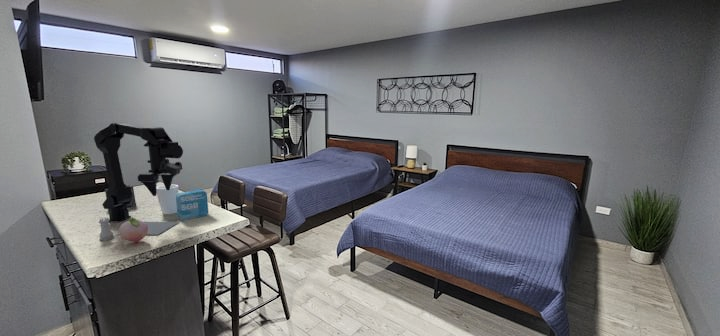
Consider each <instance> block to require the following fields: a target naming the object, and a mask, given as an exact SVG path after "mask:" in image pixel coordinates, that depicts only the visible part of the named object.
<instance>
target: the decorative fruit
mask: <svg viewBox="0 0 720 336" xmlns="http://www.w3.org/2000/svg"><path fill="white" fill-rule="evenodd" d="M145 222H146V221H142V220H140V219H137V218H135V217H133V216H131V217H130V218H127V220H126V221H124V222H122V224H121V225H120V226H119V229H118V234H119V235H118V236H120V238H121V239H122V240H124V241H126V242H131V243H138V242H140V241H142V240H143V239H144V238H145V237H146V236H147V235H146V234H147V232H148V226H147V224H146V223H145Z"/></svg>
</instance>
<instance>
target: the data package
mask: <svg viewBox="0 0 720 336" xmlns="http://www.w3.org/2000/svg"><path fill="white" fill-rule="evenodd" d="M176 204H177V212H176V214H177V217H178V218H179V219H180V220H182V221H186V220H191V219H196V218H200V217H206V216H207V215H208V214H209V205H208V204H209V201H208V193H207V192H206V191H205V190H203V189H195V190H189V191H184V192H183V191H182V192H178V194H177V195H176Z"/></svg>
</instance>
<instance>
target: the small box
mask: <svg viewBox="0 0 720 336" xmlns="http://www.w3.org/2000/svg"><path fill="white" fill-rule="evenodd" d="M126 186H127V187H129V186H130V187H131V192H132V194H133V195H132V198H131V202H130V204H127V208H131V207H135V206H137V202H136V195H135V190H134V186H132V185H126ZM107 190H108V188H104V191H105V192H104V193H105V197H106V199H107ZM106 199H105V200H106Z"/></svg>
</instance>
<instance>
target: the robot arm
mask: <svg viewBox="0 0 720 336" xmlns="http://www.w3.org/2000/svg"><path fill="white" fill-rule="evenodd" d="M125 135H129V136H130V135H131V136H134V137H139V138H141V140H143V141H146V143H144V144H143V147H147V148H148V155H149V159H148V160H147V163H148V164H150V169H149V170H148V172H143V173H140V174H138V175H137V182H140V184H141V183H142V184H143V185H144V186H145V187H146V189H148V191H149V193H150V194H151V195H152V196H153V197H156V196H157V193H156V187H157V184H158V183H159V181H160V180H159V177H160V178H161V180H162V182H163V185H165V188H166V190H170V186H171V184H172V183H173V179H174V177H176V176H177V175H180V173H181V171H182V170H183V164H182V162H180V161H176V162H175V163H174V162H170V159H181V157H183V154H184V149H183V148H182V146H181V145H180V144H179V142H178V141H173V140H172V138H171V137H170V136H169V135H168V133H167V132H166V130H165V128H164V127H161V126H160V127H159V126H158V127H157V126H156V127H153V126H152V127H145V126H139V125H135V124H134V125H133V124H129V123H125V122H112V123H110V124H109V125H108V126H107V127H105V128H103V129H101V130H99V131H98V132H97V133H95V135H94V136H93V141H94V143H95V145H96V148H97V149H98V150H99V151H100V152H101V153H102V154H103V155H102V156H103V159H104V164H105V169H106V174H107V178H108V183H109V186H108V188H107V189H108V190H107V199H105V200H104V202H103V203H102V207H103V209H104V210H107V211H108V215H109V216H108V217H109V218H108V219H109V220H110V221H109V222H123V221H125V220H128V219H130V218H132V215H130V211H129V209H128V208H129V207H127V204H130V202H131V198H132V195H133V194H132V192H131V187H130V186H131V185H130V186H129V187H127V185H126V183H125V182H124V181H125V180H124V175H123V173H122V172H123V171H122V167H121V163H120V158H119V157H120V156H119V149H120V147H121V141H122V139H123V138H124V137H125Z"/></svg>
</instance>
